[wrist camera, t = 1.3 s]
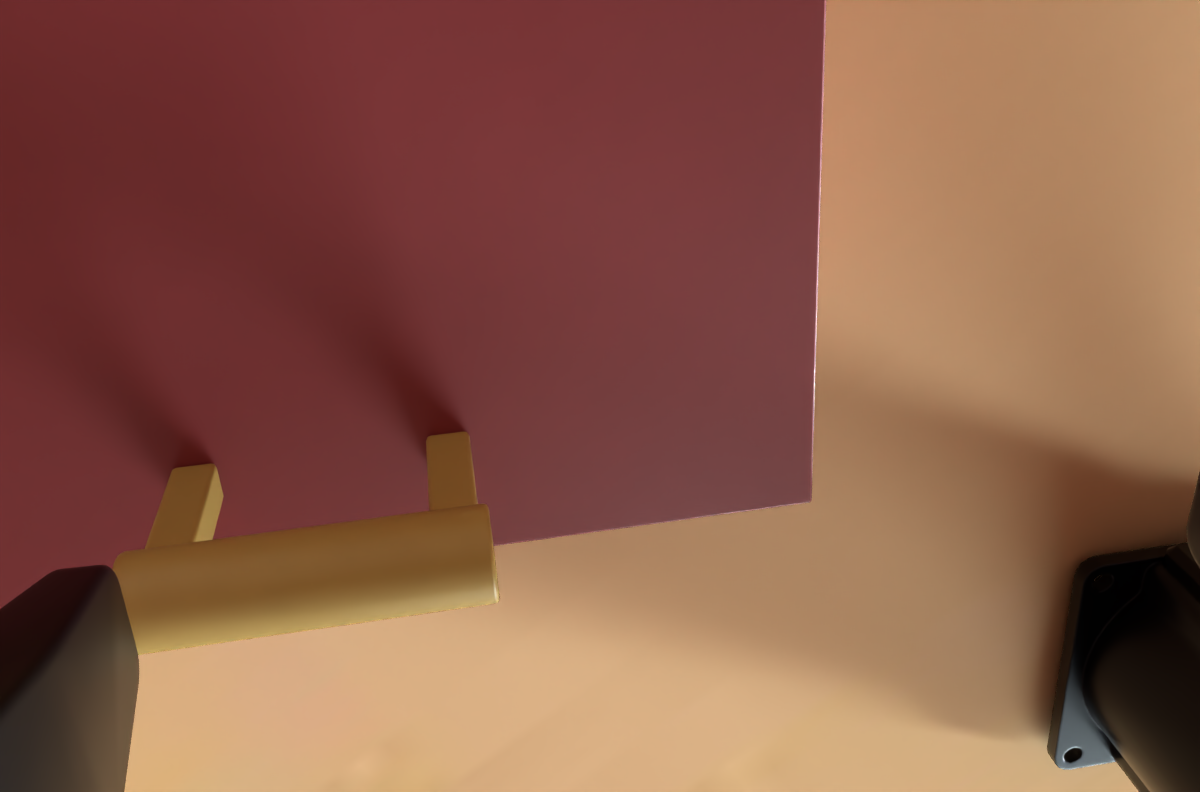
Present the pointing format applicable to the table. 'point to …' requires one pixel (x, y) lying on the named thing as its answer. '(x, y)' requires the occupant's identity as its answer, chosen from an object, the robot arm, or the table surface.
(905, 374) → the table surface
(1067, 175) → the table surface
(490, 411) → the cover
